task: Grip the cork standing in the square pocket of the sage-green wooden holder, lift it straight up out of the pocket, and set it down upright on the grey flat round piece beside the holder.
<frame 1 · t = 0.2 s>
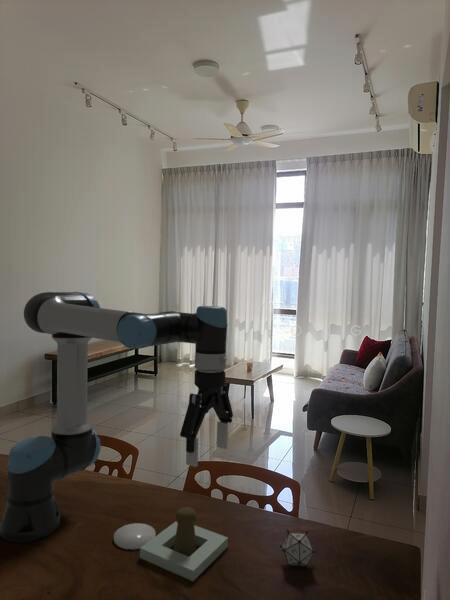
hand: (207, 456, 107), 26 cm above the table, tool pointing down, fingers open, 13 cm apart
holder: (184, 552, 112), on the table
grey flat round piece: (134, 537, 118), on the table
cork: (184, 553, 112), resting in holder
game die: (296, 565, 108), on the table
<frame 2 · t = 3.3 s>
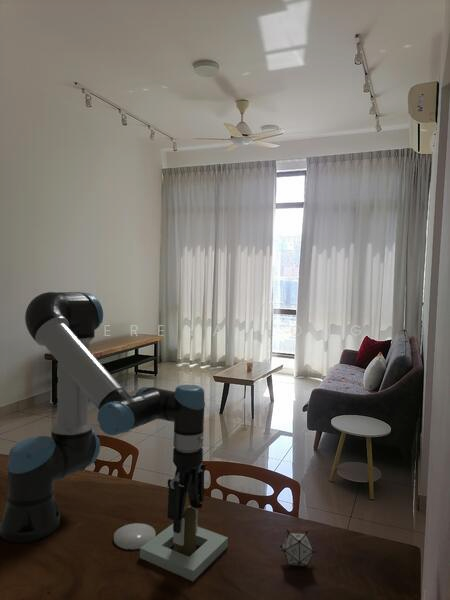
hand: (185, 537, 112), 4 cm above the table, tool pointing down, fingers closed on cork, 5 cm apart
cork: (184, 553, 112), resting in holder, touching gripper
everything else where it was.
when the fingers open (6 cm above the table, at t = 9.8 s): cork drops 1 cm, resting on grey flat round piece.
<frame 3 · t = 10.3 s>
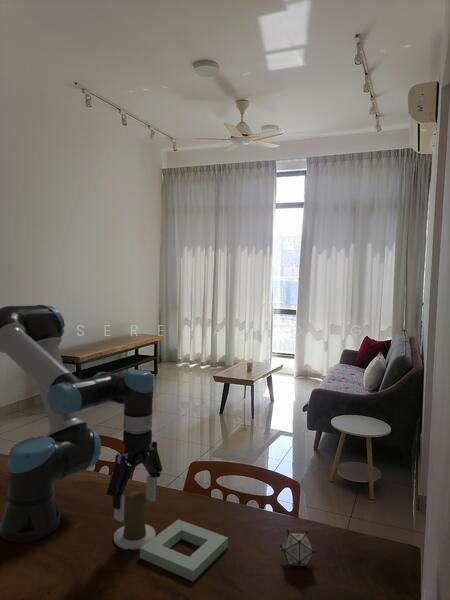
hand: (135, 509, 117), 8 cm above the table, tool pointing down, fingers open, 12 cm apart
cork: (134, 535, 118), point 1 cm above the table, touching grey flat round piece
everything else where it was.
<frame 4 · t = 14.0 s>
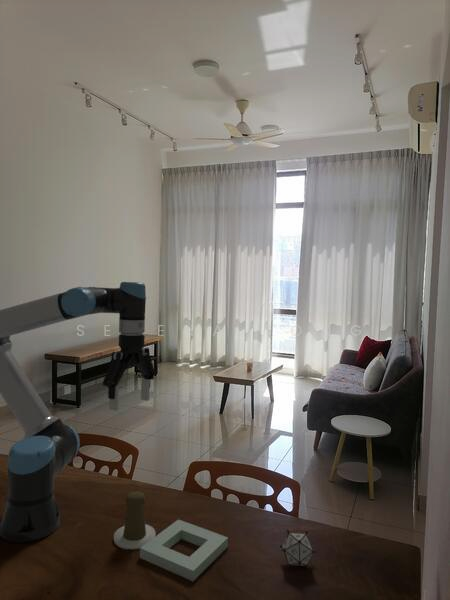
hand: (129, 404, 131), 32 cm above the table, tool pointing down, fingers open, 13 cm apart
nothing on the table moved.
at the end: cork 0.1 cm off-centre on the grey flat round piece, point 0.6 cm above the grey flat round piece's base; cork tilted 0°; the gripper is holding nothing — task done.
